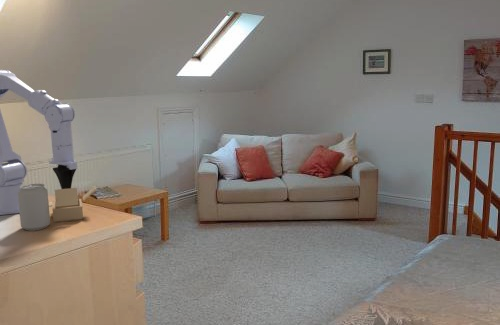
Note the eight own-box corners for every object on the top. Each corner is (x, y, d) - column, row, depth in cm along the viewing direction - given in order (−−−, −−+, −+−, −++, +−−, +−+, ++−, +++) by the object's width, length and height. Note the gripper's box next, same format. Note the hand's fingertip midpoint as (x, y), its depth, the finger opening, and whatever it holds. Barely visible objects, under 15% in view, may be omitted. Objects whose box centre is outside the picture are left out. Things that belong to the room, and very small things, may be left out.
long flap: (54, 190, 136) (54, 189, 136) (76, 188, 138) (76, 187, 138) (56, 206, 135) (56, 206, 135) (78, 204, 137) (78, 204, 137)
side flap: (95, 188, 143) (96, 189, 143) (94, 185, 147) (95, 186, 147) (83, 200, 142) (83, 201, 142) (82, 196, 146) (83, 197, 147)
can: (39, 232, 127) (35, 188, 125) (15, 230, 129) (10, 187, 127) (56, 224, 135) (52, 182, 133) (32, 222, 136) (28, 182, 134)
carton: (40, 211, 148) (39, 198, 147) (81, 207, 152) (80, 194, 152) (38, 224, 134) (36, 210, 133) (83, 219, 138) (82, 205, 138)
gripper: (40, 144, 142) (44, 188, 144) (57, 148, 131) (61, 196, 133) (63, 142, 146) (67, 185, 148) (82, 146, 136) (86, 192, 138)
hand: (66, 190), depth 141 cm, fingers closed
